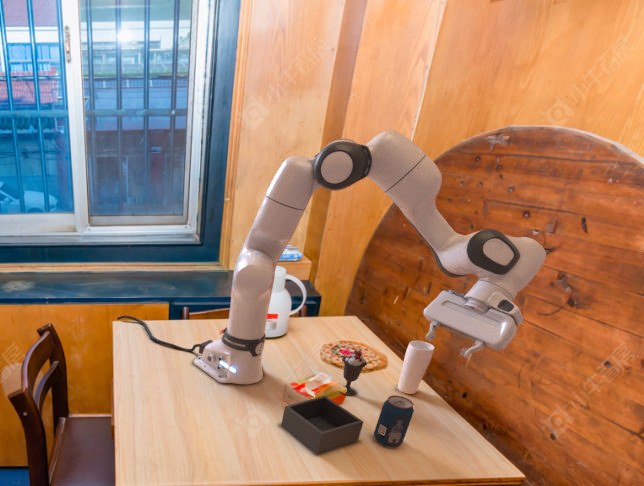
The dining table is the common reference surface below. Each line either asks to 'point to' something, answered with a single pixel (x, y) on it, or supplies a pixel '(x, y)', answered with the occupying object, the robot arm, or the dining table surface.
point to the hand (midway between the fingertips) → (445, 347)
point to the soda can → (393, 421)
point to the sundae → (353, 369)
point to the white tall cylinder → (415, 366)
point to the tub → (321, 424)
